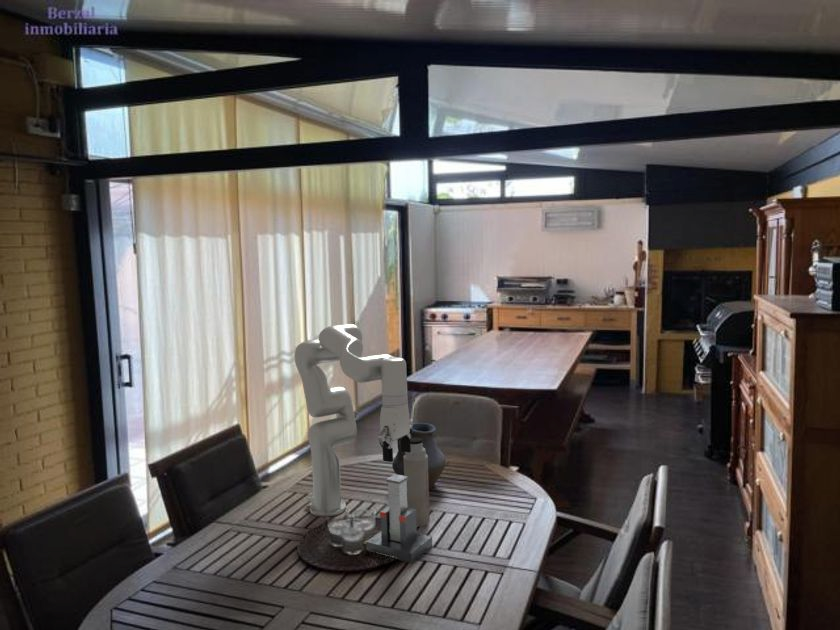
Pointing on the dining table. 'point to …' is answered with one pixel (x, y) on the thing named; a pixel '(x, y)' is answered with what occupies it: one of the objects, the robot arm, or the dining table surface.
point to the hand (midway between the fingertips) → (397, 456)
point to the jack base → (410, 540)
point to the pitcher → (434, 454)
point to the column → (396, 503)
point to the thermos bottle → (417, 481)
